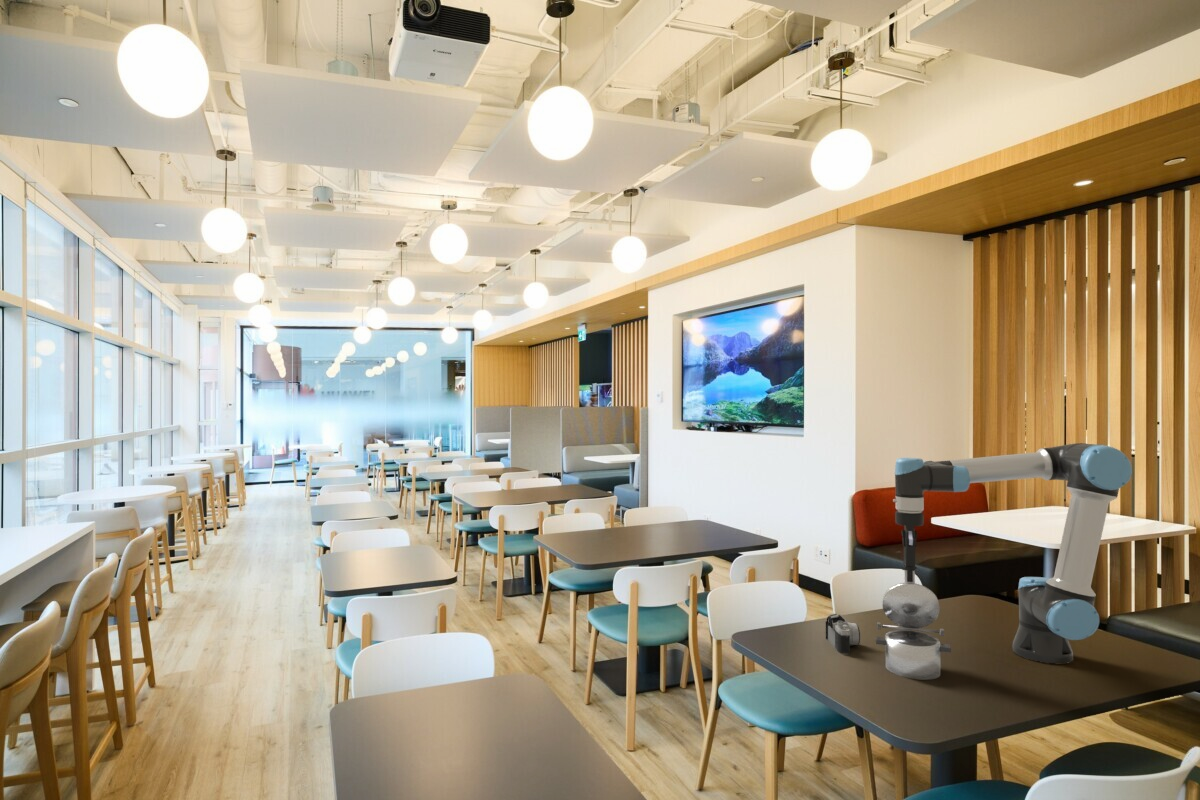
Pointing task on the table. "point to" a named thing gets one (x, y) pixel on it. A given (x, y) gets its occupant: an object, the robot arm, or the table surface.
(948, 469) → the robot arm
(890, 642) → the pot
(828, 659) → the table surface
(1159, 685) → the table surface
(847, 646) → the camera
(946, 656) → the table surface
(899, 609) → the lid
